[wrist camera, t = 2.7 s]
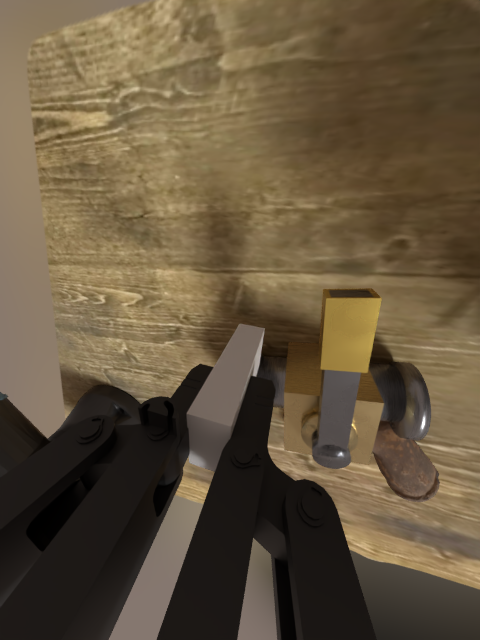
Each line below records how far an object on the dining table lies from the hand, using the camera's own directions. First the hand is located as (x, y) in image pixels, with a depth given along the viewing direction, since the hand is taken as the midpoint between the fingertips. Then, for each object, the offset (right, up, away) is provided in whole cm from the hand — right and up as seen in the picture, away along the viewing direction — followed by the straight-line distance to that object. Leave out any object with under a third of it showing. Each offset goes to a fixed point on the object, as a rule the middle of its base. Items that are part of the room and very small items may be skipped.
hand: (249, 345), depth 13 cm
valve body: (+10, -5, +15) cm, 19 cm away
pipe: (+17, -15, +19) cm, 29 cm away
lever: (+7, -4, +4) cm, 9 cm away
